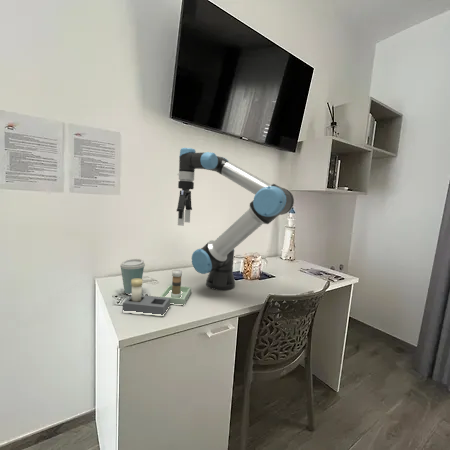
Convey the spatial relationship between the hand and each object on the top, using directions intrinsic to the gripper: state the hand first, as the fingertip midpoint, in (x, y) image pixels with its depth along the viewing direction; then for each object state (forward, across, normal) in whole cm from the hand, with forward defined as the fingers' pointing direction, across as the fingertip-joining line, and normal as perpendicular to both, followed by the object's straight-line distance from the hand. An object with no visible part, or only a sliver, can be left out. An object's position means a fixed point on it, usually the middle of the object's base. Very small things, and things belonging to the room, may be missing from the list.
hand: (184, 223), depth 131 cm
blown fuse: (+31, +17, +2) cm, 35 cm away
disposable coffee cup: (+32, +16, -19) cm, 40 cm away
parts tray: (+32, +17, +2) cm, 36 cm away
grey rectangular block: (+32, +31, -6) cm, 45 cm away
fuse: (+32, +31, -10) cm, 46 cm away
